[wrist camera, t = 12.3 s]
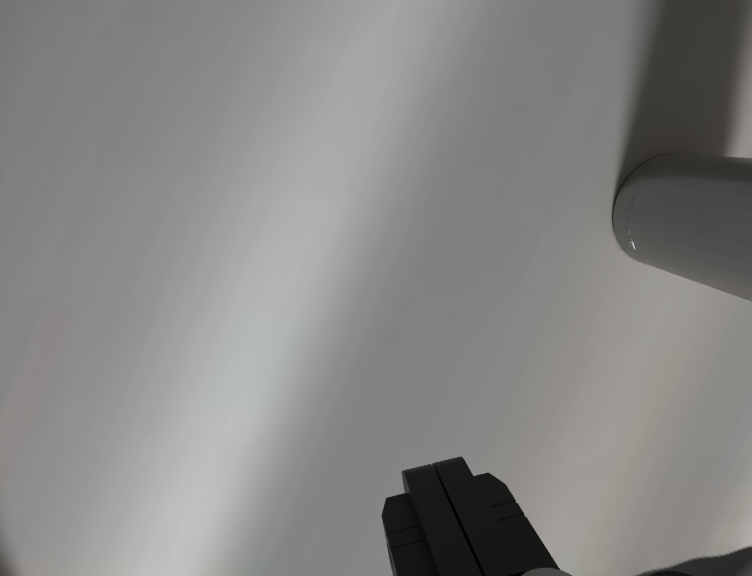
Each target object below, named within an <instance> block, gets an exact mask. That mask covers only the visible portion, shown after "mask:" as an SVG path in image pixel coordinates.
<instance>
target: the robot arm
mask: <svg viewBox="0 0 752 576" xmlns="http://www.w3.org/2000/svg"><path fill="white" fill-rule="evenodd" d="M613 226H614V232H615V235H616V238H617V241H618V243H619V245H620V246H621V248H622V249H623V251H625V252H626V253H627V254H628V255H629V256H630V257H631V258H633V259H635V260H637V261H639V262H642V263H645V264H647V265H650V266H653V267H656V268H659V269H662V270H664V271H667V272H670V273H672V274H675V275H678V276H681V277H684V278H687V279H689V280H692V281H695V282H698V283H701V284H704V285H706V286H709V287H712V288H715V289H718V290H721V291H723V292H726V293H729V294H732V295H735V296H738V297H741V298H743V299H746V300H749V301H752V158H741V157H720V156H702V155H678V154H668V155H662V156H658V157H656V158H653V159H651V160H648V161H647V162H645V163H644V164H642V165H641V166H639V167H638V168H637V169H636V170H635V171H634V172H633V173H632V174H631V175H630V176H629V177H628V179H627V180H626V182H625V183H624V184H623V186H622V188H621V190H620V192H619V194H618V196H617V199H616V203H615V207H614V213H613ZM402 478H403V485H404V491H405V493H404V494H400V495H396V496H392V497H388V498H386V501H385V505H384V509H383V512H382V520H383V525H384V531H385V536H386V542H387V547H388V553H389V558H390V564H391V568H392V572H393V576H572V575H570V574H568V573H566V572H564V571H561V570H560V569H559V567H558V566H557V564H556V563H555V561H554V560H553V558H552V557H551V555H550V553H549V552H548V550H547V549H546V547H545V546H544V544H543V542H542V541H541V539H540V538H539V536H538V535H537V533H536V531H535V530H534V528H533V527H532V525H531V524H530V522H529V520H528V519H527V517H525V516H524V513H523V511H522V509H521V508H520V506H519V505H518V503H516V500H515V499H514V497H513V495H512V494H511V492H510V491H509V489H508V488H507V486H506V484H504V483H503V482H501V481H500V480H499V479H497V478H496V477H494V476H493V475H491V474H490V473H485V474H480V475H476V476H473V475H472V473H471V471H470V469H469V467H468V466H467V464H466V462H465V460H464V459H463V457H457V458H453V459H448V460H444V461H440V462H436V463H433V464H432V465H431V464H428V465H424V466H420V467H416V468H412V469H408V470H404V471H402ZM650 576H691V575H688V574H686V573H681V572H675V571H662V572H657V573H654V574H652V575H650Z"/></svg>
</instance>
